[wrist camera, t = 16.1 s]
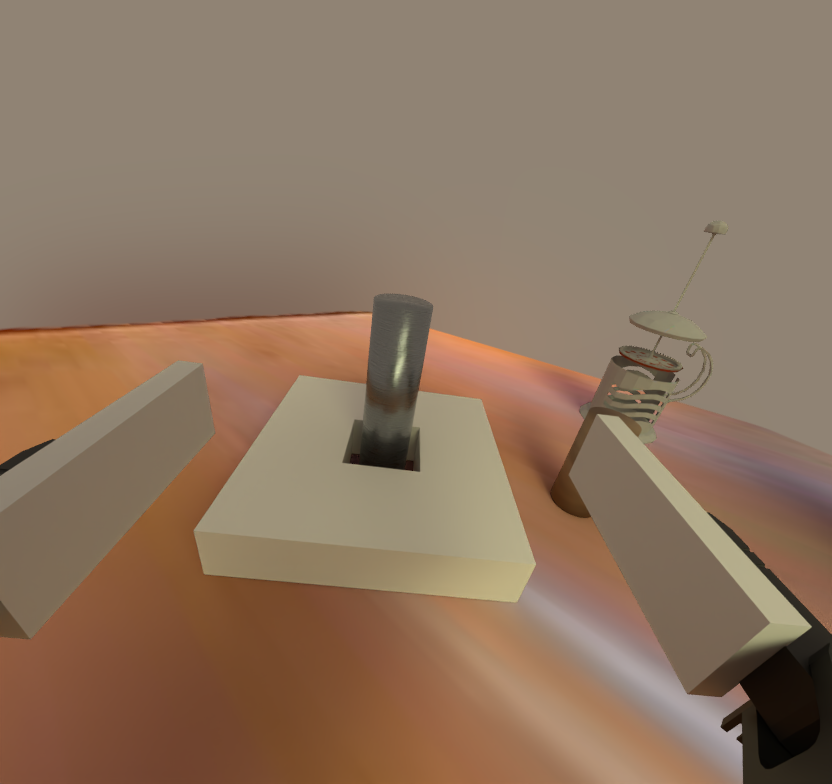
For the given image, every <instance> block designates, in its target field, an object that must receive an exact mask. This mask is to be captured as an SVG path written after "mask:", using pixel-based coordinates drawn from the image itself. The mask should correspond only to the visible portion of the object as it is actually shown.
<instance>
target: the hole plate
mask: <svg viewBox="0 0 832 784" xmlns="http://www.w3.org/2000/svg"><path fill="white" fill-rule="evenodd" d="M365 392H366V384H362V383H355V382H347V381H340V380H332V379H325V378H317V377H310V376H302V375H299V377H298V378H297V380H296V381H295V383H294V384H293V386H292V387H291V389H290V390H289V392H288V393H287V394H286V396H285V397H284V399H283V400H282V402H281V403H280V405H279V406H278V408H277V409H276V411H275V412H274V414H273V415H272V416H271V418H270V419H269V421H268V422H267V424H266V425H265V427H264V428H263V430H262V431H261V433H260V434H259V436H258V437H257V438H256V440H255V441H254V443H253V444H252V446H251V447H250V449H249V450H248V452H247V453H246V455H245V456H244V457H243V459H242V460H241V462H240V463H239V465H238V466H237V468H236V469H235V471H234V472H233V474H232V475H231V477H230V478H229V479H228V481H227V482H226V484H225V485H224V487H223V488H222V490H221V491H220V493H219V494H218V496H217V497H216V499H215V500H214V501H213V503H212V504H211V506H210V507H209V509H208V510H207V512H206V513H205V515H204V516H203V518H202V519H201V521H200V522H199V523H198V525H197V526H196V528H195V529H194V535H195V539H196V543H197V547H198V552H199V556H200V560H201V564H202V568H203V573H204V574H206V575H217V576H228V577H239V578H250V579H261V580H272V581H283V582H294V583H305V584H316V585H327V586H338V587H349V588H360V589H372V590H383V591H394V592H405V593H416V594H427V595H438V596H449V597H460V598H471V599H482V600H493V601H504V602H515V603H517V601H518V599H519V597H520V595H521V593H522V591H523V589H524V587H525V585H526V584H527V582H528V580H529V578H530V576H531V574H532V572H533V570H534V568H535V566H536V563H535V560H534V557H533V554H532V551H531V548H530V545H529V542H528V539H527V536H526V533H525V530H524V527H523V524H522V521H521V518H520V515H519V512H518V509H517V506H516V503H515V500H514V497H513V494H512V491H511V488H510V485H509V482H508V479H507V476H506V473H505V470H504V467H503V464H502V461H501V458H500V455H499V452H498V449H497V445H496V442H495V439H494V436H493V433H492V430H491V427H490V424H489V421H488V418H487V415H486V412H485V409H484V406H483V403H482V400H481V399H475V398H468V397H460V396H453V395H445V394H438V393H430V392H423V391H418V397H417V402H416V408H415V414H414V419H413V425H412V431H411V437H410V442H409V448H408V454H407V459H406V460H411V461H413V471H408V470H399V469H391V468H382V467H373V466H365V465H356V464H349V463H350V459H351V455H352V454H360V448H361V437H362V426H363V414H364V403H365Z"/></svg>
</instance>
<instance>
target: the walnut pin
mask: <svg viewBox="0 0 832 784" xmlns="http://www.w3.org/2000/svg"><path fill="white" fill-rule="evenodd" d="M597 414H601V415H609V416H617V417H619V418H620V419H621V420H622V421H623V422H624V423H625V424H626V425H627V426H628V428H629V429H630V430H631V431H632V432H633V433H634V434H635V435H636V436H637V437H639V435H640V433H641V431H642V428H641V427H640V425H639V424H638V423H637V422H636V421H634V420H633V419H632V418H630V417H628V416H626V415H624V414H622V413H620V412H618V411H615V410H612V409H608V408H604V407H592V408H590V409H589V411H588V413H587V415H586V418H585V420H584V422H583V424H582V426H581V428H580V430H579V432H578V434H577V437H576V439H575V441H574V443H573V445H572V447H571V449H570V451H569V453H568V456H567V458H566V460H565V462H564V464H563V466H562V468H561V470H560V472H559V475H558V477H557V479H556V481H555V483H554V485H553V487H552V489H551V496H552V498H553V500H554V502H555V503H556V504H557V505H558V506H559V507H560V508H562V509H563V510H564V511H566V512H568V513H570V514H572V515H574V516H577V517H583V518H587V517H591V515H590V513H589V511H588V510H587V508H586V506H585V504H584V502H583V500H582V498H581V497H580V495H579V493H578V491H577V489H576V487H575V486H574V484H573V482H572V480H571V478H570V476H569V473H570V471H571V468H572V466H573V464H574V462H575V460H576V458H577V456H578V454H579V451H580V449H581V447H582V445H583V443H584V441H585V439H586V436H587V434H588V432H589V430H590V428H591V426H592V424H593V421H594V419H595V417H596V415H597Z"/></svg>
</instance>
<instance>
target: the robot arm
mask: <svg viewBox="0 0 832 784" xmlns="http://www.w3.org/2000/svg"><path fill="white" fill-rule="evenodd" d="M214 434H215V429H214V424H213V418H212V413H211V407H210V401H209V396H208V390H207V385H206V379H205V374H204V368H203V364H201V363H194V362H186V361H177V362H175V363H174V364H172V365H170V366H169V367H167V368H166V369H164V370H163V371H161V372H160V373H158V374H157V375H155V376H154V377H152V378H150V379H149V380H147V381H146V382H144V383H143V384H141V385H140V386H138V387H137V388H135V389H133V390H132V391H130V392H129V393H127V394H126V395H124V396H123V397H121V398H120V399H118V400H116V401H115V402H113V403H112V404H110V405H109V406H107V407H106V408H104V409H103V410H101V411H100V412H98V413H96V414H95V415H93V416H92V417H90V418H89V419H87V420H86V421H84V422H83V423H81V424H79V425H78V426H76V427H75V428H73V429H72V430H70V431H69V432H67V433H66V434H64V435H62V436H61V437H59V438H58V439H56V440H55V439H52V440H49V441H47V442H44V443H42V444H39V445H37V446H35V447H32V448H30V449H27V450H25V451H22V452H20V453H19V454H17V455H16V456H14V457H12V458H11V459H9V460H8V461H6V462H4V463H3V464H1V465H0V637H8V638H20V639H31V638H32V637H33V636H34V635H35V634H36V633H37V632H38V631H39V629H40V628H41V627H42V626H43V625H44V624H45V623H46V622H47V621H48V619H49V618H50V617H51V616H52V615H53V614H54V613H55V612H56V610H57V609H58V608H59V607H60V606H61V605H62V604H63V603H64V602H65V600H66V599H67V598H68V597H69V596H70V595H71V594H72V593H73V591H74V590H75V589H76V588H77V587H78V586H79V585H80V584H81V583H82V581H83V580H84V579H85V578H86V577H87V576H88V575H89V574H90V573H91V571H92V570H93V569H94V568H95V567H96V566H97V565H98V564H99V562H100V561H101V560H102V559H103V558H104V557H105V556H106V555H107V554H108V552H109V551H110V550H111V549H112V548H113V547H114V546H115V545H116V543H117V542H118V541H119V540H120V539H121V538H122V537H123V536H124V535H125V533H126V532H127V531H128V530H129V529H130V528H131V527H132V526H133V524H134V523H135V522H136V521H137V520H138V519H139V518H140V517H141V516H142V514H143V513H144V512H145V511H146V510H147V509H148V508H149V507H150V506H151V504H152V503H153V502H154V501H155V500H156V499H157V498H158V497H159V495H160V494H161V493H162V492H163V491H164V490H165V489H166V488H167V487H168V485H169V484H170V483H171V482H172V481H173V480H174V479H175V478H176V476H177V475H178V474H179V473H180V472H181V471H182V470H183V469H184V468H185V466H186V465H187V464H188V463H189V462H190V461H191V460H192V459H193V457H194V456H195V455H196V454H197V453H198V452H199V451H200V450H201V449H202V447H203V446H204V445H205V444H206V443H207V442H208V441H209V440H210V439H211V437H212V436H213V435H214ZM569 476H570V478H571V480H572V482H573V484H574V486H575V487H576V489H577V491H578V493H579V495H580V497H581V498H582V500H583V502H584V504H585V506H586V508H587V510H588V511H589V513H590V515H591V517H592V519H593V521H594V523H595V524H596V526H597V528H598V530H599V532H600V534H601V535H602V537H603V539H604V541H605V543H606V545H607V547H608V548H609V550H610V552H611V554H612V556H613V558H614V560H615V561H616V563H617V565H618V567H619V569H620V571H621V572H622V574H623V576H624V578H625V580H626V582H627V584H628V585H629V587H630V589H631V591H632V593H633V595H634V597H635V598H636V600H637V602H638V604H639V606H640V608H641V609H642V611H643V613H644V615H645V617H646V619H647V621H648V622H649V624H650V626H651V628H652V630H653V632H654V634H655V635H656V637H657V639H658V641H659V643H660V645H661V646H662V648H663V650H664V652H665V654H666V656H667V658H668V659H669V661H670V663H671V665H672V667H673V669H674V671H675V672H676V674H677V676H678V678H679V680H680V682H681V683H682V685H683V687H684V689H685V691H686V693H687V694H691V695H703V696H715V697H722V696H724V695H725V694H726V693H727V692H729V691H730V690H731V689H733V688H734V687H735V686H737V685H738V684H739V683H740V685H741V686H742V688H743V689H744V691H745V692H746V694H747V695H748V697H749V698H750V700H749V701H747V702H746V703H745V704H743V705H742V706H740V707H739V708H738V709H736V710H735V711H734V712H732V713H731V714H729V715H728V716H727V717H725V718H724V719H723V722H722V724H721V728H722V729H723V730H725V731H726V732H728V731H730V730H731V729H733V728H734V727H735V726H737V725H738V724H740V723H741V724H742V734H741V735H740V736H738V737H737V740H738V741H739V742H741V743H742V744H743V784H832V634H830V633H829V632H828V630H827V629H826V628H825V627H824V626H823V625H822V624H821V623H820V622H819V621H818V620H817V619H816V618H815V617H814V616H813V615H812V614H811V613H810V611H809V610H808V609H807V608H806V607H805V606H804V605H803V604H802V603H801V602H800V601H799V600H798V599H797V598H796V597H795V596H794V595H793V594H792V593H791V591H790V590H789V589H788V588H787V587H786V586H785V585H784V584H783V583H782V582H781V581H780V580H779V579H778V578H777V577H776V576H775V575H774V574H773V572H772V571H771V570H770V569H766V568H765V564H764V563H763V562H762V561H761V560H760V559H759V558H758V557H757V556H756V555H755V554H754V552H750V550H749V549H750V548H749V547H748V546H747V545H746V544H745V543H744V542H743V541H742V540H741V539H740V538H739V537H738V536H737V535H736V533H735V532H734V531H733V530H732V529H730V528H729V527H728V526H726V525H725V524H724V523H722V522H721V521H720V520H718V519H717V518H716V517H714V516H713V515H712V514H710V513H708V512H706V511H705V510H704V509H703V508H702V507H701V506H700V505H699V504H698V503H697V501H696V500H695V499H694V498H693V497H692V496H691V495H690V494H689V493H688V492H687V491H686V490H685V488H684V487H683V486H682V485H681V484H680V483H679V482H678V481H677V480H676V479H675V478H674V476H673V475H672V474H671V473H670V472H669V471H668V470H667V469H666V468H665V467H664V466H663V465H662V463H661V462H660V461H659V460H658V459H657V458H656V457H655V456H654V455H653V454H652V453H651V451H650V450H649V449H648V448H647V447H646V446H645V445H644V444H643V443H642V442H641V441H640V440H639V438H638V437H637V436H636V435H635V434H634V433H633V432H632V431H631V430H630V429H629V428H628V426H627V425H626V424H625V423H624V422H623V421H622V420H621V419H620V418H619V417H617V416H609V415H601V414H597V415H596V417H595V419H594V421H593V424H592V426H591V428H590V430H589V432H588V434H587V436H586V439H585V441H584V443H583V445H582V447H581V449H580V451H579V454H578V456H577V458H576V460H575V462H574V464H573V466H572V468H571V471H570V473H569Z"/></svg>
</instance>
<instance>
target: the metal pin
mask: <svg viewBox="0 0 832 784" xmlns="http://www.w3.org/2000/svg"><path fill="white" fill-rule="evenodd" d="M432 311H433V305H432V304H431V303H429V302H428V301H426V300H423V299H420V298H417V297H413V296H408V295H401V294H380V295H377V296H375V297H374V304H373V315H372V326H371V337H370V348H369V359H368V370H367V381H366V392H365V403H364V414H363V426H362V437H361V448H360V459H359V465H365V466H373V467H382V468H391V469H399V470H405V465H406V459H407V454H408V448H409V442H410V437H411V431H412V425H413V419H414V414H415V408H416V402H417V397H418V391H419V385H420V379H421V374H422V368H423V362H424V356H425V351H426V345H427V339H428V334H429V328H430V322H431V316H432Z"/></svg>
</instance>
